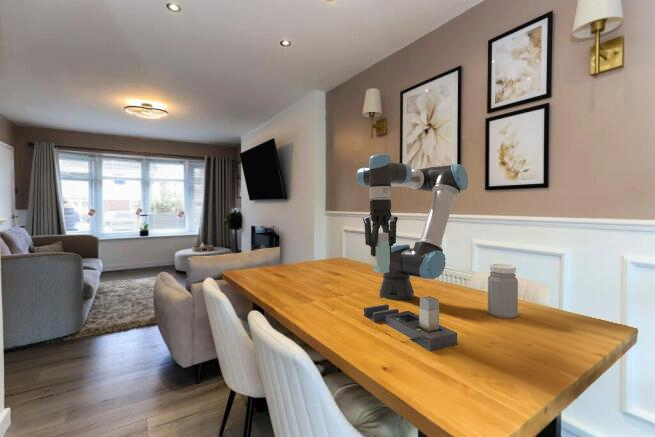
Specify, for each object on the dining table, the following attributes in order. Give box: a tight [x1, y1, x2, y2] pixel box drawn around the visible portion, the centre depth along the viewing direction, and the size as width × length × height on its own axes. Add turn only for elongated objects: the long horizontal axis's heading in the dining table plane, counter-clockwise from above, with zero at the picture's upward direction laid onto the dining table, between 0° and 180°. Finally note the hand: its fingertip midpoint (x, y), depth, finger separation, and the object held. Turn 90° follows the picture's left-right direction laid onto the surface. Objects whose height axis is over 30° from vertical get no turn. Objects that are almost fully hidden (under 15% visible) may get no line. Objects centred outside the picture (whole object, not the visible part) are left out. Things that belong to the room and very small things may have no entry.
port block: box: [384, 295, 458, 352], centre depth 100 cm, size 10×22×12 cm, turn 24°
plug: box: [372, 231, 389, 274], centre depth 114 cm, size 4×4×14 cm
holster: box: [363, 303, 400, 324], centre depth 114 cm, size 10×8×4 cm
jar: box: [487, 263, 519, 320], centre depth 117 cm, size 10×10×18 cm
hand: (381, 264), depth 114 cm, fingers closed on plug, 4 cm apart
